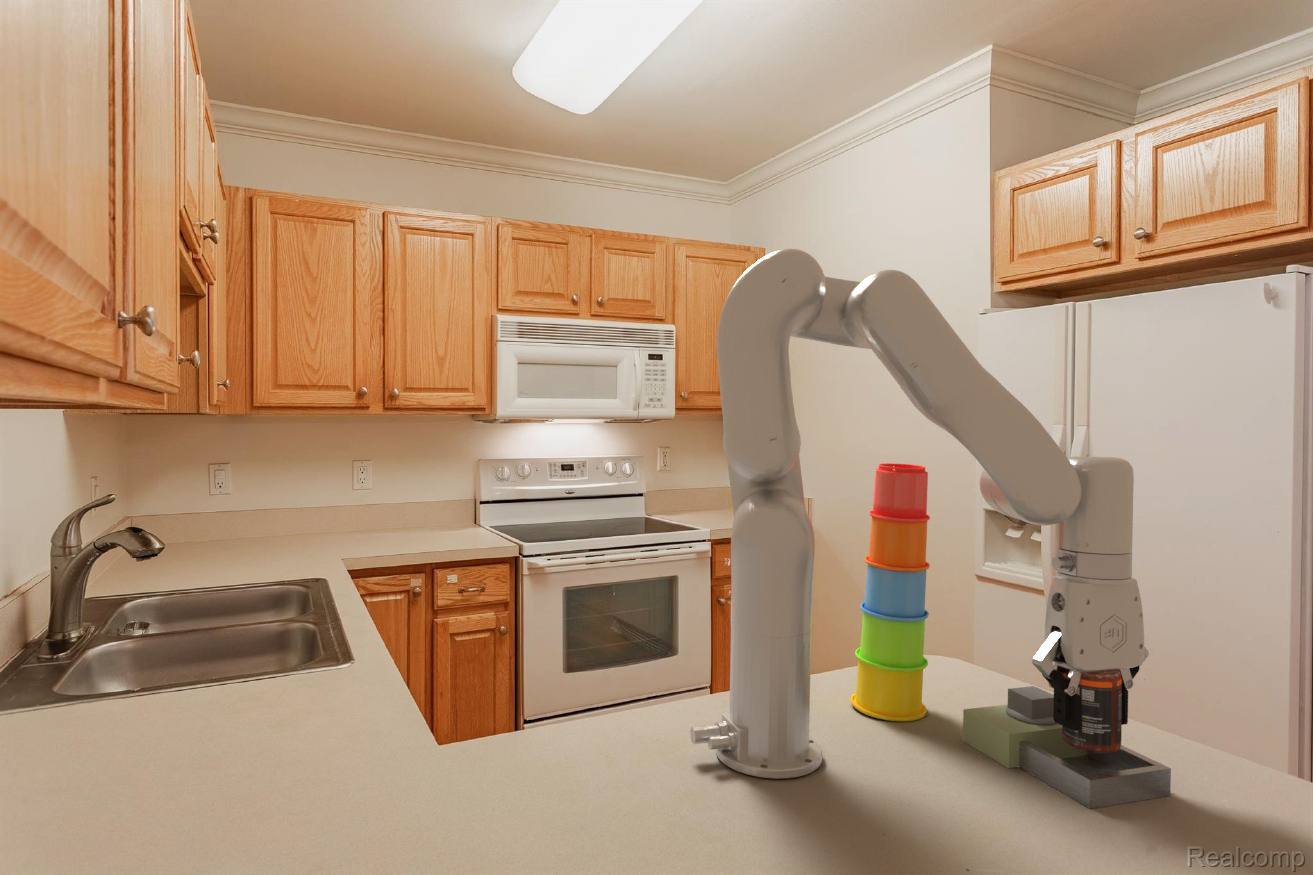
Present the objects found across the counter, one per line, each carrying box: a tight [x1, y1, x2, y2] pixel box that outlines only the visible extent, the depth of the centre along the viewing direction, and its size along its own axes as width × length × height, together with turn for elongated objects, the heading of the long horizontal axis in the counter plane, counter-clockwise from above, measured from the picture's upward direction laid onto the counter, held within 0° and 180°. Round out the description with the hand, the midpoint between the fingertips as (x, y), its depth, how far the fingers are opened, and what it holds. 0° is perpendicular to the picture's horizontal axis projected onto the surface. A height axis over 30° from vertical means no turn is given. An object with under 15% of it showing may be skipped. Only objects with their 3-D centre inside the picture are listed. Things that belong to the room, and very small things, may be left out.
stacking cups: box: [850, 462, 931, 723], centre depth 106 cm, size 10×10×35 cm
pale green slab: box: [962, 685, 1087, 769], centre depth 94 cm, size 14×8×7 cm, turn 106°
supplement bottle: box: [1062, 669, 1122, 753], centre depth 86 cm, size 6×6×11 cm
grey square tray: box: [1018, 741, 1172, 810], centre depth 85 cm, size 11×10×3 cm
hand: (1090, 721), depth 86 cm, fingers closed on supplement bottle, 6 cm apart
